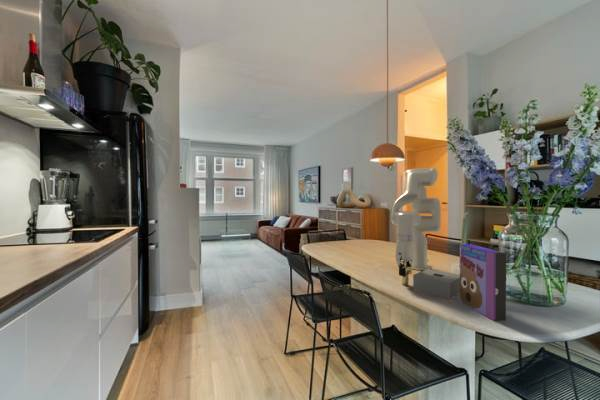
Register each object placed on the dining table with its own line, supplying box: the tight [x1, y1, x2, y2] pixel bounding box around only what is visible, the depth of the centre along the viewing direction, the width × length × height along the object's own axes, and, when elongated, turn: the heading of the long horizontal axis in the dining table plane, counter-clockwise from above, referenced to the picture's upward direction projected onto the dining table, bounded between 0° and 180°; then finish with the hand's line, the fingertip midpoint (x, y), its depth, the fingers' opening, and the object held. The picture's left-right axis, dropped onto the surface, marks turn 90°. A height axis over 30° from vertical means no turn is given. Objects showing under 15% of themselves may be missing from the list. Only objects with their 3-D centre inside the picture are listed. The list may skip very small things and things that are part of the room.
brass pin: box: [401, 266, 412, 287], centre depth 135 cm, size 5×5×9 cm
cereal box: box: [459, 243, 507, 322], centre depth 105 cm, size 17×5×24 cm, turn 5°
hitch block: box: [412, 268, 460, 300], centre depth 127 cm, size 16×16×7 cm
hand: (405, 274), depth 135 cm, fingers closed on brass pin, 5 cm apart
